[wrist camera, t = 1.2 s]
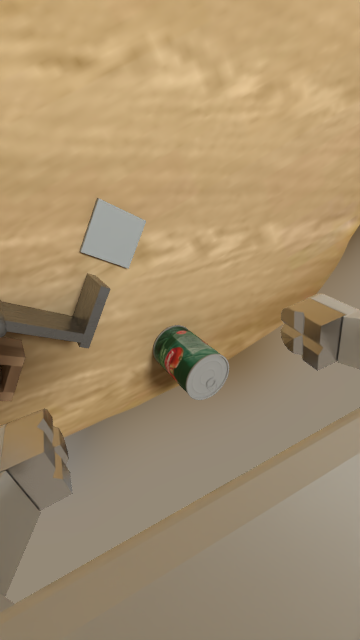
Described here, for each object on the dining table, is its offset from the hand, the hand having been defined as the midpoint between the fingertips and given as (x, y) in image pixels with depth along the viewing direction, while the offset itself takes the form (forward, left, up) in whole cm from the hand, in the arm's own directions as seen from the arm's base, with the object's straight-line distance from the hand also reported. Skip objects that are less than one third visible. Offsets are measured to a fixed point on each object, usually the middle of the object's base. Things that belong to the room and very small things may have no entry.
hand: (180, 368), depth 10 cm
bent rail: (+3, -8, -33) cm, 34 cm away
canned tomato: (+26, -11, -33) cm, 44 cm away
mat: (+9, +3, -33) cm, 34 cm away
